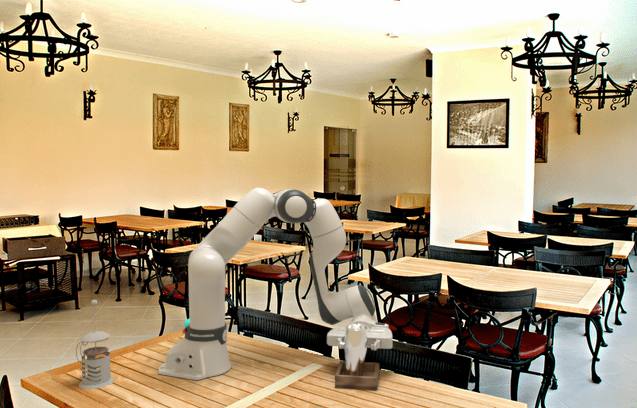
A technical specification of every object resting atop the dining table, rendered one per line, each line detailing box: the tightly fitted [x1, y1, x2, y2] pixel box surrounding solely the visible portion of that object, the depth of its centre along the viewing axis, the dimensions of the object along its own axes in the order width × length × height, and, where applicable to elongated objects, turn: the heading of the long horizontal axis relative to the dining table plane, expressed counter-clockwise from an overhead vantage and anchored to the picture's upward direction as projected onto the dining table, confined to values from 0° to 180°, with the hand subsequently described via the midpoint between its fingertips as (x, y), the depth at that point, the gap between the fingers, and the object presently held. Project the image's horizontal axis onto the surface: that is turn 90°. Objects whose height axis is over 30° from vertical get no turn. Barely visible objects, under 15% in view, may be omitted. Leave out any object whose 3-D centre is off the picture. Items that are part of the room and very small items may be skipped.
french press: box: [75, 299, 115, 390], centre depth 149 cm, size 10×12×25 cm
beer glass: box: [343, 323, 368, 376], centre depth 148 cm, size 7×7×15 cm
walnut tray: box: [334, 360, 380, 392], centre depth 148 cm, size 12×12×4 cm
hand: (357, 347), depth 147 cm, fingers open, 8 cm apart
